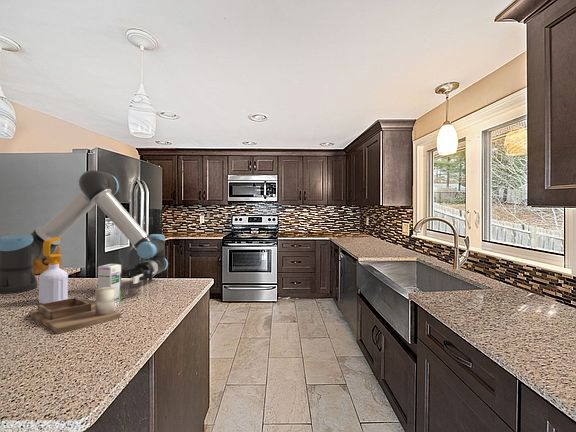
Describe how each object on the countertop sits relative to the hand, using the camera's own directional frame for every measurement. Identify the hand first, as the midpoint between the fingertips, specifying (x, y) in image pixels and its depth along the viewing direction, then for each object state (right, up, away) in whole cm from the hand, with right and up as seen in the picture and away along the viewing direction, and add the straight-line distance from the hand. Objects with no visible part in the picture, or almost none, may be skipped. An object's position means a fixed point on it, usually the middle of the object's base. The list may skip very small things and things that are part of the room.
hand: (117, 279), depth 128 cm
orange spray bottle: (-61, -5, +43) cm, 75 cm away
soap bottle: (-23, -8, -4) cm, 24 cm away
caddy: (-3, -8, -20) cm, 22 cm away
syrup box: (-1, -8, -4) cm, 9 cm away
